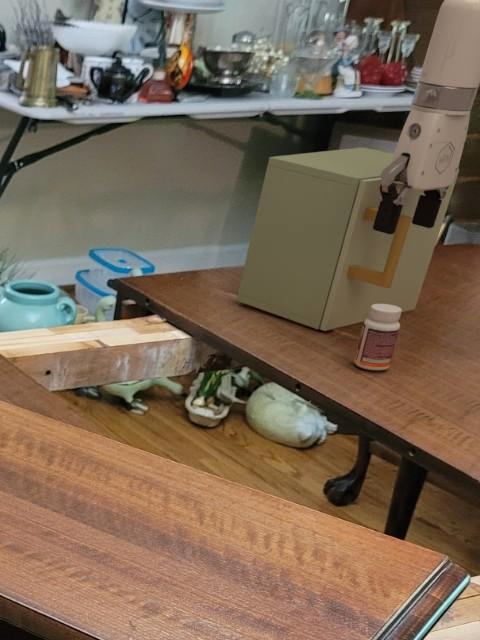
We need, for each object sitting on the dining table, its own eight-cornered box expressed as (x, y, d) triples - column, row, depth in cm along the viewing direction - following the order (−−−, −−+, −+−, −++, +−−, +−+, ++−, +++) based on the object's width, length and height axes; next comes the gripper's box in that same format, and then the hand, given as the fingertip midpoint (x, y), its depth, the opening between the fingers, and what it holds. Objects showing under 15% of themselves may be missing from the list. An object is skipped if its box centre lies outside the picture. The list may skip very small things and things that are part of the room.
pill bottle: (396, 369, 156) (412, 311, 151) (367, 372, 155) (383, 314, 150) (374, 358, 160) (389, 301, 155) (346, 361, 159) (361, 303, 154)
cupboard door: (452, 321, 177) (501, 178, 165) (363, 344, 165) (409, 191, 153) (409, 307, 182) (453, 167, 171) (319, 329, 170) (360, 179, 158)
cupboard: (407, 308, 183) (452, 166, 171) (317, 329, 170) (359, 178, 158) (326, 282, 193) (363, 147, 181) (236, 300, 181) (269, 156, 169)
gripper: (432, 106, 141) (391, 241, 150) (503, 102, 150) (459, 229, 159) (381, 96, 146) (344, 228, 155) (452, 93, 155) (413, 217, 164)
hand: (402, 228), depth 157 cm, fingers open, 9 cm apart
